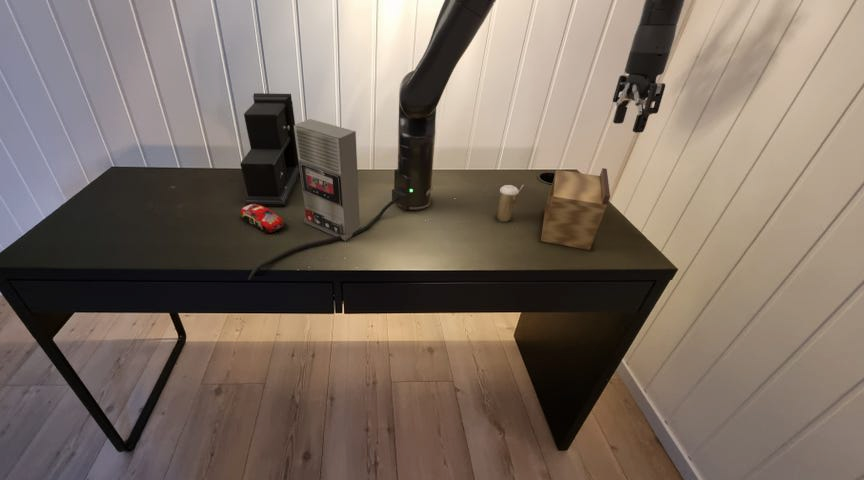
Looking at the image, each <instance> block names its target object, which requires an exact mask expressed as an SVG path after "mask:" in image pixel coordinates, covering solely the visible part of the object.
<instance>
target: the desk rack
mask: <svg viewBox="0 0 864 480" xmlns="http://www.w3.org/2000/svg"><path fill="white" fill-rule="evenodd" d="M550 187H551V188H550V190H549V194H548V198H547V202H546V204H545V205H546V206H545V209H544V212H543V213H544V215H543V222H542V228H541V229H542V230H541V238H540V241H541V242H544V243H550V244H556V245H561V246H565V247H566V246H567V247H571V248H577V249H581V250H588V251H591V248H592V246H593V243H594V241H595V238H596V236H597V233H598V230H599V228H600V225H601V222H602V220H603V217H604V214H605V211H606V210H607V206H608V204H609V201H610V198H611V192H610V184H609V175H608V169H607V168H604V167H602V168H601V171H600V174H599V175H598V174H597V175H596V174H589V173H583V172H575V171H569V170H562V169H556V170H555V173H554V177H553V179H552V183H551V186H550Z"/></svg>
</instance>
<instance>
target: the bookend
mask: <svg viewBox="0 0 864 480" xmlns="http://www.w3.org/2000/svg"><path fill="white" fill-rule="evenodd" d="M252 98H253V104H251V105H250V107H248V108H247V110H246V111H245V112H243V117H244V122H245V129H246V132H247V136H248V142H249V146H250V150H249V151H248V152H247V154H246V155H244V158H243V159H242V160H241V161H240V163H239V165H240V169H241V172H242V177H243V181H244V185H245V190H246V194H247V196H246V198H245V203H246V206H247V205H250V204H258V205H261V206H263V207H285V206H286V204H287V202H288V200H289V197H290V195H291V194H292V191H293V189H294V188H295V185H296V182H297V181H298V178H299V176H300V172H299V171H300V169H299V161H298V154H297V147H296V140H295V132H294V125H295V124H296V121H295V120H296V119H295V112H294V105H293V99H292V93H270V92H269V93H265V92H264V93H262V92H259V93H255V92H254V93H253V96H252ZM295 179H296V180H295ZM294 181H295V182H294Z"/></svg>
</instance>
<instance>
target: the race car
mask: <svg viewBox="0 0 864 480" xmlns="http://www.w3.org/2000/svg"><path fill="white" fill-rule="evenodd" d="M240 212H241V217H242V219H243V220H244V221H245V222H246V223H247V224H251V225H253V226H255V228H258V229H259V230H261V231H263V232H264V233H265V234H268V233H274V232H277V231H279V230H282V228H284V224H285V223H284V220H283V218H281V216H278V215H277V214H275V213H274V212H275V210H270V209H269V208H267V207H266V206H261V205H258V204H250V205H247V204H246V205H245V206H243V207H242V208H241V211H240Z"/></svg>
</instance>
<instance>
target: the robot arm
mask: <svg viewBox="0 0 864 480" xmlns="http://www.w3.org/2000/svg"><path fill="white" fill-rule="evenodd" d="M496 1H497V0H444V1H443V3H442V6H441V8H440V11H439V13H438V15H437V18H436V21H435V24H434V27H433V30H432V33H431V36H430V39H429V41H428V45H427V47H426V49H425V51H424V53H423V55H422V57H421V59H420V60H419V62H418V64H417V65H416V67H415V68H414V70H411V71H409V72H408V73H407V74H406V75H404V77H403V78H402V80H401V82H400V84H399V91H398V123H397V124H398V126H397V127H398V128H397V168H396V169H394V171H393V172H394V174H393V175H394V176H393V182H394V183H393V188H392V190H391V201H389V202H388V203H387V204H386V205H385V206H384V207H382V209H381V210H380V211H379V213H378V214H377V215H375V217H374V218H373V219H372V220H371V221H370V222H369V223H368V224H367V225H365V226H362V227H361V229H359V230H357V231H355V232H354V233H353V234H352V237H353V236H357V235H359V234H361V233H363V232H364V231H367V230H368V229H370V228H371V227H372V226H373V225H375V223H376V222H377V221H378V220H379V219H381V217H382V216H383V214H384V213H385V212H386V211H387V210H388V209H389V208H391V206H392V205H393V204H396V205H397V206H398V207H400V208H401V209H402V210H404V211H419V210H420V211H421V210H424V209H427V208H428V207H429V206H430V205H431V194H432V192H433V190H434V187H433V186H432V181H433V170H434V156H435V144H436V123H437V122H436V117H437V108H438V105H439V103H440V101H441V98H442V96H443V94H444V91H445V89H446V88H447V85H448V83H449V80H450V78H451V76H452V74H453V72H454V70H455V68H456V67H457V65H458V63H459V61H460V60H461V58H463V56H464V54H465V52H466V51H467V50H468V48H469V46H470V45H471V43H472V42H473V40H474V39H475V37H476V36H477V34H478V32H479V30H480V29H481V27H482V26H483V24H484V23H485V21H486V19H487V17H488V16H489V15H490V12H491V10H492V8H493V7H494V5H495V3H496ZM684 4H685V0H644V4H643V6H642V10H641V13H640V17H639V20H638V25H637V27H636V31H635V34H634V36H633V38H632V42H631V46H630V50H629V53H628V57H627V60H626V64H625V67H624V73H625V74H623V75H619V77H618V81H617V84H616V87H615V91H614V93H613V97H612V102H613V103H615V107H616V109H615V113H614V116H613V120H612V121H613V124H616V125H617V124H618V125H619V124H623V123H624V121H625V119H626V114H627V111H628V106H629V105H630V103H632V101H633V102H634V105H635V106H636V107H637V115H636V117H635V120H634V124H633V128H632V132H633V133H636V134H639V133H643V132H644V131H645V129H646V126H647V123H648V120H649V117H650V115H653V114H658V112H659V109H660V107H661V103H662V101H663V96H664V92H665V88H666V83H665V82H657V78H658V77H659V76H661V75H663V74H664V72H665V69H666V66H667V64H668V63H667V62H668V60H669V56H670V54H671V49H672V47H673V44H674V41H675V37H676V32H677V28H678V23H679V20H680V17H681V13H682V11H683V7H684ZM653 103H654V105H653ZM340 240H342V239H341V236H337V237H336V236H334V237H333V236H332V237H330V238H324V239H321V240H316V241H311V242H307V243H304V244H300V245H297V246H294V247H292V248H289V249H288V250H285V251H283V252H280V253H279V254H276V255H275V256H273V257H272V258H269V259H267V260H265V261H262V262H260V263H259V264H258V265H256V266H255V267H254V268H253V270H251V272H250V274H249V275H248V277H247V281H251V280H253V279H254V276H255V275H256V274H257V272H258V271H259V270H261V269H262V268H264V267H266V266H268V265H270V264H272V263H273V262H276V261H277V260H279V259H281V258H283V257H286V256H287V255H289V254H291V253H294V252H296V251H299V250H303V249H306V248H309V247H313V246H317V245H323V244H327V243H330V242H335V241H340ZM261 267H262V268H261Z"/></svg>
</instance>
